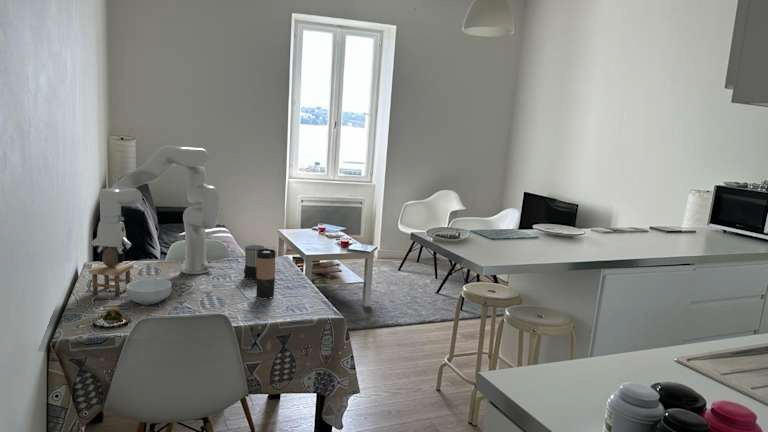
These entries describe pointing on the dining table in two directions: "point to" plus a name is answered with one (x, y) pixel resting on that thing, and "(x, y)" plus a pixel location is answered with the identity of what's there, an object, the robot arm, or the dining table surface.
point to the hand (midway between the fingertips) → (111, 261)
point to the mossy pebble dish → (113, 317)
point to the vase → (110, 256)
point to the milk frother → (251, 260)
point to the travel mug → (265, 273)
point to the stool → (106, 272)
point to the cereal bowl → (148, 290)
